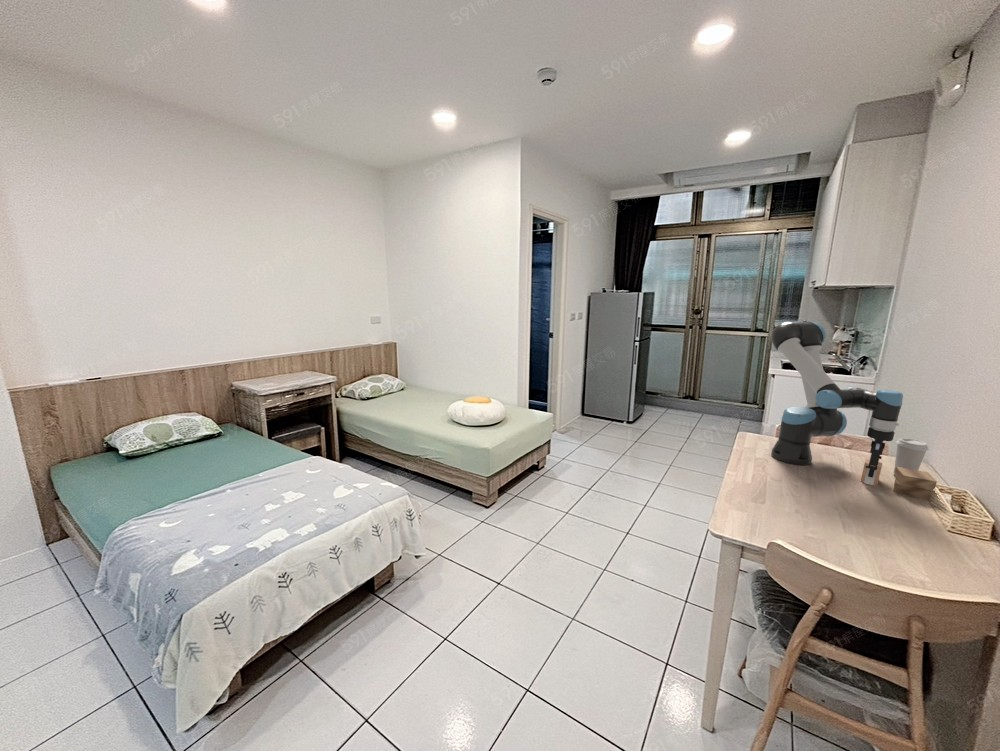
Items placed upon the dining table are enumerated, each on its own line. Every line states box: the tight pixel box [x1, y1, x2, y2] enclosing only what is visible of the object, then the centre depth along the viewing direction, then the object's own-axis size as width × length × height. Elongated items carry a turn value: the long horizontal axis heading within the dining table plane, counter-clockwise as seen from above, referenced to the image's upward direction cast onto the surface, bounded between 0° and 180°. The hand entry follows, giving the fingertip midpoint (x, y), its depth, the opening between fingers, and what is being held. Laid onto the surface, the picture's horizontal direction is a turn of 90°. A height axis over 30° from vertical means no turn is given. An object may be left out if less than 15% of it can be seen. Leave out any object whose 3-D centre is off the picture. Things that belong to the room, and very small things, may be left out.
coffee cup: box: [893, 437, 929, 473], centre depth 167 cm, size 10×10×15 cm
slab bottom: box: [893, 477, 932, 502], centre depth 154 cm, size 10×10×4 cm
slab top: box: [893, 467, 938, 492], centre depth 153 cm, size 9×9×4 cm
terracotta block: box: [860, 458, 883, 486], centre depth 161 cm, size 5×5×8 cm
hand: (869, 478), depth 162 cm, fingers open, 13 cm apart
